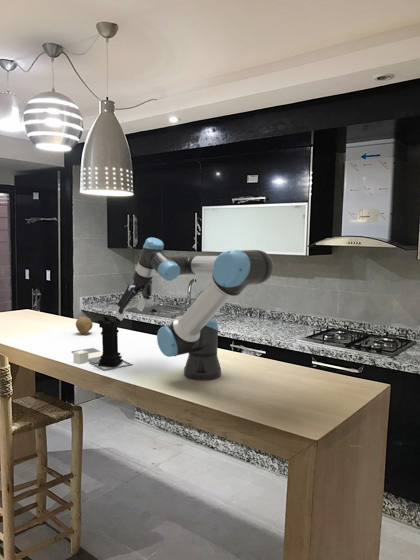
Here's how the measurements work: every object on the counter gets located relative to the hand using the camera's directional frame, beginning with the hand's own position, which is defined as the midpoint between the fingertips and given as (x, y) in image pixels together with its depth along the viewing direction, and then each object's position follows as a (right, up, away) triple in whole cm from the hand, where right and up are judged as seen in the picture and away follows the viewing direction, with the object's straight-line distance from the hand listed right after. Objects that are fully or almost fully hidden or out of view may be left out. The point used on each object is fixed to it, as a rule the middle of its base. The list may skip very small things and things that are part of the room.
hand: (129, 314), depth 194 cm
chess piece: (-8, -21, 0) cm, 23 cm away
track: (-19, -20, +12) cm, 30 cm away
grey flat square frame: (-8, -22, 0) cm, 23 cm away
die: (-22, -21, +2) cm, 30 cm away
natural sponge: (-35, -16, +56) cm, 68 cm away
